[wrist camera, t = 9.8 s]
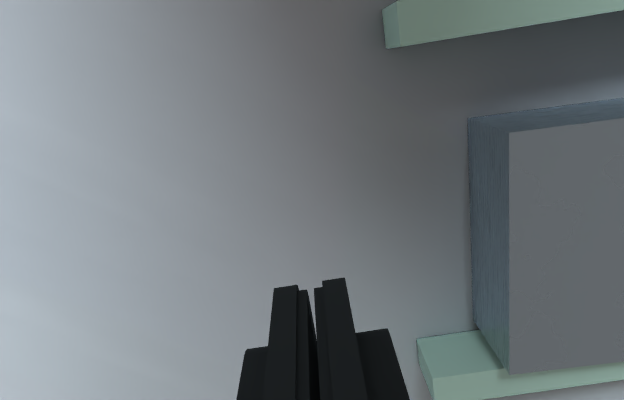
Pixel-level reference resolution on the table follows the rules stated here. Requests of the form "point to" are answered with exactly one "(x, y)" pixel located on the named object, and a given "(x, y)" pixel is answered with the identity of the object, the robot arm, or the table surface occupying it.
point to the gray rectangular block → (549, 234)
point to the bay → (472, 344)
